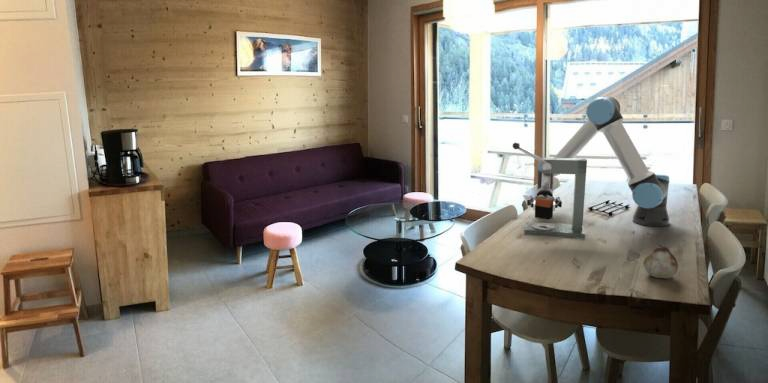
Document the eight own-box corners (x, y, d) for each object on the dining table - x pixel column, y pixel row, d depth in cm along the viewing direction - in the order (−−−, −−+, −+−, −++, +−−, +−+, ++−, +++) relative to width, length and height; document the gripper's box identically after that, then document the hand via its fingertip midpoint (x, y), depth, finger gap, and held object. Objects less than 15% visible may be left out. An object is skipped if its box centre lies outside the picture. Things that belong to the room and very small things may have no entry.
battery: (538, 215, 224) (539, 194, 221) (552, 218, 219) (554, 196, 217) (534, 217, 220) (535, 196, 218) (548, 220, 216) (549, 198, 214)
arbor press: (582, 229, 221) (588, 140, 213) (584, 238, 209) (591, 144, 200) (511, 224, 231) (514, 139, 223) (509, 233, 218) (512, 142, 210)
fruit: (643, 279, 164) (646, 245, 162) (640, 269, 173) (643, 237, 170) (678, 283, 161) (682, 248, 158) (673, 273, 169) (677, 240, 167)
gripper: (566, 204, 233) (568, 217, 212) (522, 202, 239) (519, 214, 218) (567, 189, 231) (569, 200, 210) (522, 187, 238) (520, 197, 216)
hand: (544, 207), depth 214 cm, fingers closed on battery, 8 cm apart
